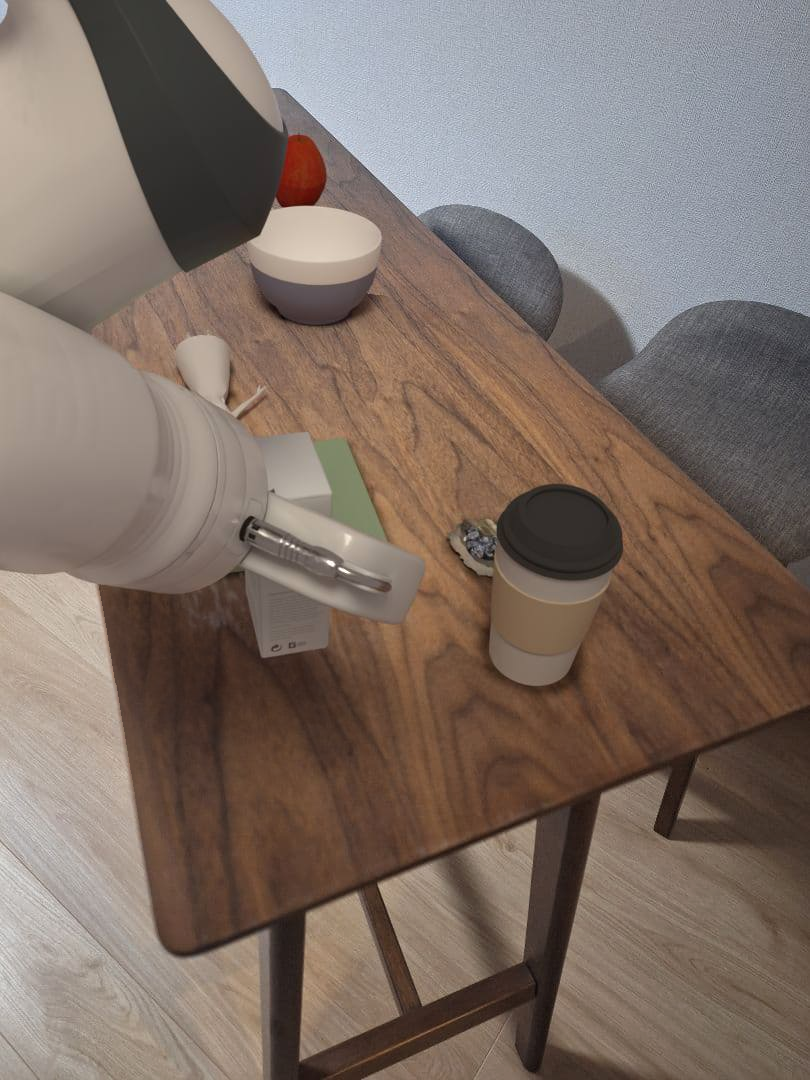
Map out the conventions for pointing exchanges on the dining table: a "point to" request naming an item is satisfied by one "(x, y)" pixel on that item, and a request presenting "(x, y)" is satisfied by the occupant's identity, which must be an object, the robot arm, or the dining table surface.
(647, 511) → the dining table surface
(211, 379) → the woman figurine
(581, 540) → the coffee cup
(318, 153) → the apple
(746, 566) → the dining table surface
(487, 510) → the dining table surface
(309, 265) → the bowl
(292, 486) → the cosmetic box
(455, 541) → the blueberries
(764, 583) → the dining table surface
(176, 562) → the robot arm
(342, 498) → the mat
